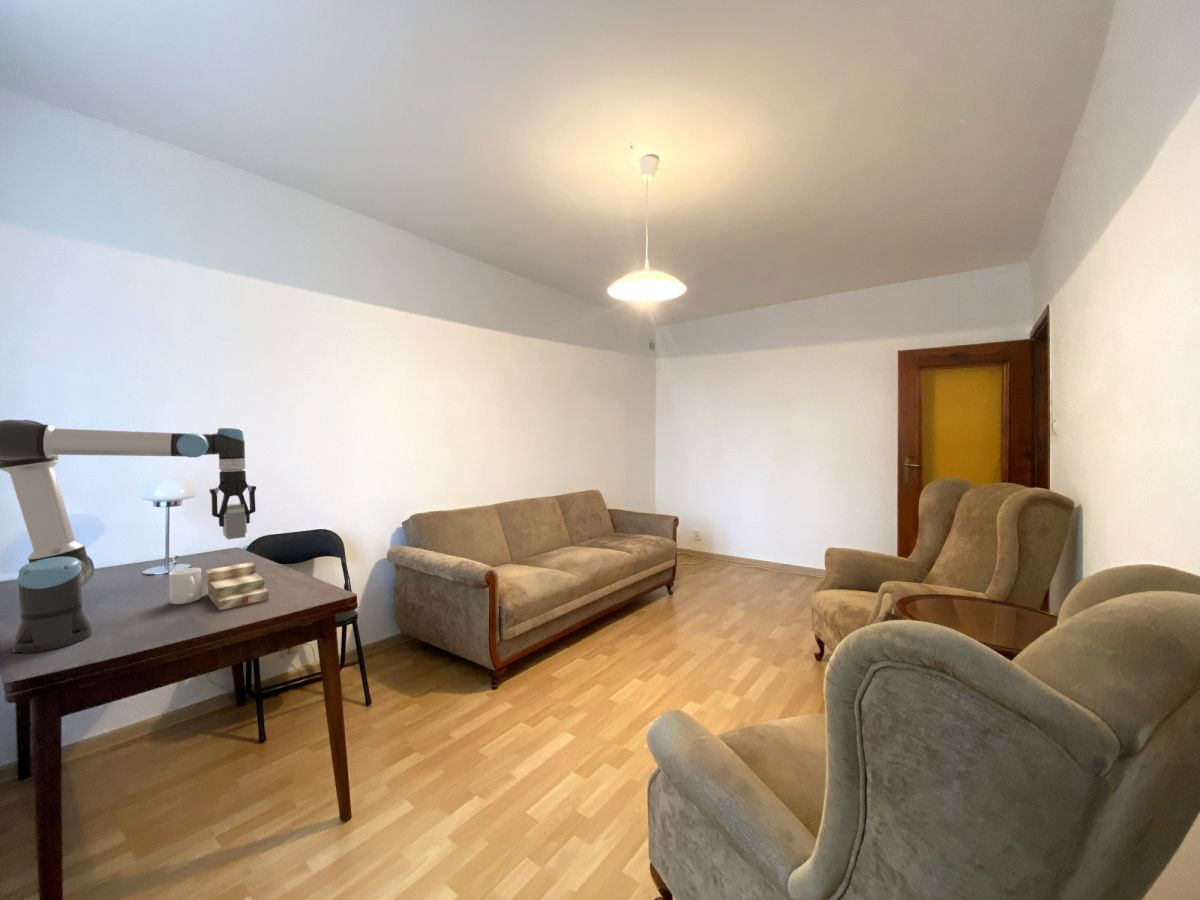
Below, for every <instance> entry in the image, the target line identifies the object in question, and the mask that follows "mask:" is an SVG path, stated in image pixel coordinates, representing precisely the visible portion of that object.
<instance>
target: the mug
mask: <svg viewBox="0 0 1200 900" xmlns="http://www.w3.org/2000/svg"><path fill="white" fill-rule="evenodd" d="M168 581H169V582H168V584H169V602H170V604H172V605H184V604H189V603H193V602H197V601H199V600H200V599H201V598H202V596H203V592H202V591H203V589H202V569H201V568H200V567H187V568H181V569H177V570H176V569H175V570H173V571H170V572H169V573H168Z"/></svg>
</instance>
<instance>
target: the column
mask: <svg viewBox="0 0 1200 900" xmlns="http://www.w3.org/2000/svg"><path fill="white" fill-rule="evenodd" d="M244 512H245V508H244V504H241V503H240V502H238V503H228V504H227V506H226V511H225V515H224V517H226V518H227V536H224V538H226V539H227V540H234V539H242V538H246V533H245V513H244Z"/></svg>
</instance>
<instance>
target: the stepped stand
mask: <svg viewBox="0 0 1200 900" xmlns="http://www.w3.org/2000/svg"><path fill="white" fill-rule="evenodd" d="M205 586H206V587H205V588H206V595H207V596H208V598H209V599H210V600H211V601H212V602H213V604H214V605H215V606H216V608H217V609H218V610H219V611H222V610H227V609H232V608H235V607H240V606H245V605H249V604H253V603H257V602H262V601H267V600H270V594H269V592H270V591H269V590H268V589H267V588H266V587H265V579H264V578H263V577H262V576H260V575H259V574H257V573H256V564H254V563H253V562H252V561H250V562H245V563H239V564H233V565H229V566H223V567H216V568H215V567H214V568H209V569H206V570H205Z"/></svg>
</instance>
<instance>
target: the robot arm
mask: <svg viewBox="0 0 1200 900" xmlns="http://www.w3.org/2000/svg"><path fill="white" fill-rule="evenodd" d="M245 445H246V443H245V431H244V429H242V428H241V427H219V428H218V429H217V432H215V433H189V432H188V433H185V432H184V433H180V432H179V433H175V432H153V431H128V430H125V431H124V430H102V429H101V430H100V429H75V428H56V427H55V426H54V425H51V424H43V423H41V422H39V421H35V420H29V419H4V420H0V471H1V470H2V471H3V472H6V473H8V474H9V475H10V478H11V482H12V486H13V488H14V492H15V495H16V498H17V502H18V504H19V507H20V510H21V514H22V517H23V520H24V524H25V527H26V529H27V533H28V536H29V539H30V542H31V543H30V544H31V546H32V549H33V551H32V553H31V554H30V555H29V556H28V557H27V560H28V562H29V563H26V564H25V565H23V566H22V567H20V569H19V570H18V576H17V579H16V580H17V583H18V595H19V597H18V599H19V611H20V623H19V626H18V628H17V630H16V633H15V636H14V638H13V640H12V642H11V644H12V645H11V647H12V649H13V650H14V651H15V652H22V653H21V654H31V653H32V654H33V653H37V652H38V653H39V652H44V651H45V652H46V651H49V650H54V649H58V648H62V647H67V646H70V645H73V644H76V643H79V642H82V641H83V640H85V639H87V638H89V637H90V636H91V635H93V626H92V624H91V622H90V621H89V618H88V617H87V615H86V613H85V612H84V610H83V598H82V597H83V595H82V587H84V585H86V584H87V583H89V582H88V581H90V580H91V579H92V576H93V574H94V571H95V564H94V562H93V560H92V558H91V557H90V556H89V555H88V554H87V550H86V548H85V544H83V543H81V542H78V541H76V539H75V535H74V533H73V529H72V525H71V522H70V518H69V514H68V512H67V509H66V505H65V502H64V501H65V500H64V498H63V495H62V492H61V489H60V485H59V483H58V478H57V475H56V472H55V468H54V467H55V466H56V465H57V464H58V463H59V461H60V460H59V457H58V456H59V455H60V456H124V457H125V456H127V457H128V456H129V457H130V456H131V457H132V456H133V457H139V456H140V457H187V458H198V457H201V456H205V455H206V456H208V455H209V456H210V455H218V469H219V470H220V471H219V484H218V486H217V487H215V488H209V490H208V491H209V493H210V496H211V515H212V517H214V518H218V526H219V527H220V528H221V527H222V535H223V537H225V536H227V518H226V517H224V515H225V511H226V506H227V504H229V500H230V497H233V496H235V497H236V496H237V498H238V500H239V503H241V504H244V508H245V512H244V515H245V534H247V533H248V531H247V524H250V522H251V519H250V518H251V517H250V516H251V514H253V513H255V512H256V495H255V494H256V493H255V492H256V489H257V486H256V485H250V484H248V483H247V477H246V475H247V474H246V472H247V471H246V470H245V469H246V457H245V456H246V450H245V449H246V446H245ZM246 490H247V491H248V495H249V498H248V499H249V507H248V505H247V501H246V499H245V495H244V492H245V491H246ZM219 491H221V493H223V496H222V498H223V499H222V501H221V505H220V509H219V512H218V494H219ZM12 649H11V650H12ZM15 652H14V653H15Z"/></svg>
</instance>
